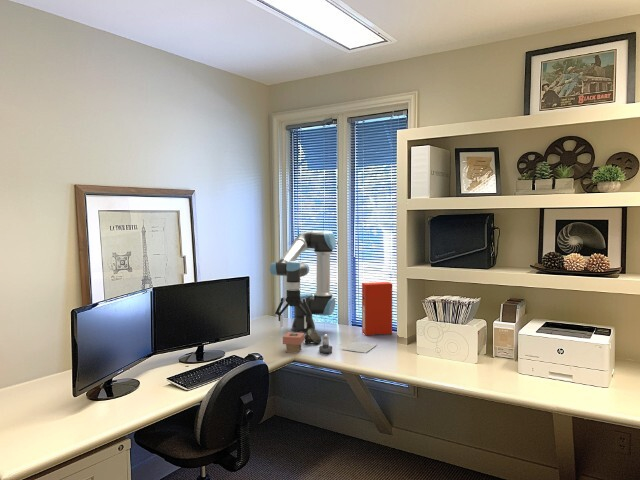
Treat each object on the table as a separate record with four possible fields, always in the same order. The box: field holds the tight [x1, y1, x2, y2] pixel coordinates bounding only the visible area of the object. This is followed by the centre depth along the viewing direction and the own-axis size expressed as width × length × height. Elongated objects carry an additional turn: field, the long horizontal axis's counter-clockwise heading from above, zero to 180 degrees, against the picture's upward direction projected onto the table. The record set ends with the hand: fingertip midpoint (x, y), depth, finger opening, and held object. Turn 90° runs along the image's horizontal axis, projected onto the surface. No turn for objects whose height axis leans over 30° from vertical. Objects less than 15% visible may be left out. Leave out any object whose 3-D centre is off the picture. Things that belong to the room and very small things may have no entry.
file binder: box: [361, 281, 393, 336], centre depth 301 cm, size 8×17×32 cm, turn 101°
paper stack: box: [342, 341, 377, 354], centre depth 266 cm, size 23×25×1 cm
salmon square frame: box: [282, 331, 305, 346], centre depth 266 cm, size 10×10×4 cm
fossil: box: [304, 329, 323, 345], centre depth 281 cm, size 11×9×10 cm
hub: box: [318, 333, 333, 355], centre depth 263 cm, size 7×7×10 cm
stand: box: [285, 332, 302, 354], centre depth 266 cm, size 7×7×10 cm
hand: (293, 327), depth 265 cm, fingers open, 13 cm apart
